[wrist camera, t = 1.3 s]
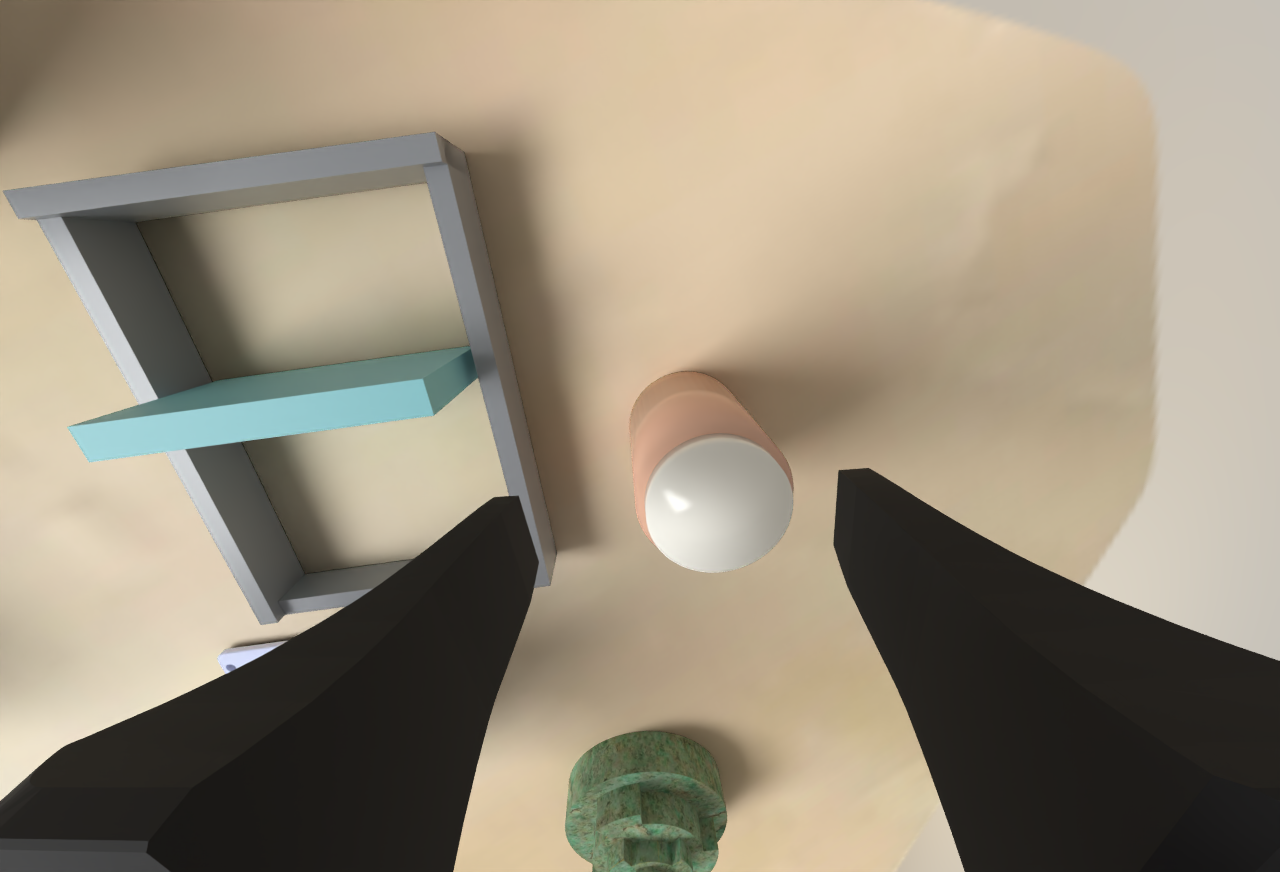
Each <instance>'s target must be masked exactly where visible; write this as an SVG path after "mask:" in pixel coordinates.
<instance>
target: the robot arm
mask: <svg viewBox="0 0 1280 872" xmlns="http://www.w3.org/2000/svg"><path fill="white" fill-rule="evenodd" d="M833 545H834V548H835V551H836V554H837V557H838V560H839V563H840V567H841V569H842V572H843V575H844V578H845V581H846V584H847V587H848V589H849V591H850V593H851V595H852V597H853V599H854V601H855V603H856V605H857V607H858V610H859V612H860V614H861V616H862V618H863V620H864V622H865V624H866V626H867V628H868V630H869V632H870V634H871V636H872V638H873V640H874V642H875V644H876V646H877V648H878V650H879V652H880V654H881V656H882V658H883V660H884V663H885V665H886V667H887V669H888V671H889V673H890V675H891V677H892V679H893V681H894V683H895V685H896V687H897V689H898V692H899V694H900V696H901V698H902V701H903V703H904V705H905V707H906V710H907V712H908V715H909V717H910V720H911V723H912V725H913V728H914V731H915V733H916V736H917V739H918V741H919V744H920V746H921V749H922V752H923V754H924V757H925V760H926V762H927V765H928V768H929V771H930V773H931V776H932V779H933V782H934V784H935V787H936V790H937V793H938V796H939V798H940V801H941V804H942V807H943V810H944V812H945V815H946V818H947V820H948V823H949V826H950V829H951V832H952V835H953V838H954V841H955V844H956V847H957V850H958V853H959V856H960V858H961V862H962V865H963V868H964V871H965V872H1280V661H1278V660H1275V659H1272V658H1269V657H1266V656H1264V655H1261V654H1258V653H1255V652H1252V651H1249V650H1246V649H1243V648H1240V647H1237V646H1234V645H1232V644H1229V643H1226V642H1223V641H1220V640H1218V639H1215V638H1212V637H1209V636H1207V635H1204V634H1201V633H1198V632H1196V631H1193V630H1190V629H1188V628H1185V627H1182V626H1180V625H1177V624H1174V623H1172V622H1169V621H1166V620H1164V619H1162V618H1159V617H1157V616H1154V615H1152V614H1149V613H1147V612H1144V611H1142V610H1139V609H1137V608H1134V607H1132V606H1129V605H1126V604H1124V603H1122V602H1119V601H1117V600H1114V599H1112V598H1110V597H1107V596H1105V595H1102V594H1100V593H1098V592H1096V591H1093V590H1091V589H1088V588H1086V587H1084V586H1082V585H1080V584H1077V583H1075V582H1073V581H1071V580H1069V579H1067V578H1065V577H1062V576H1060V575H1058V574H1056V573H1054V572H1052V571H1049V570H1047V569H1045V568H1043V567H1041V566H1039V565H1037V564H1034V563H1032V562H1030V561H1028V560H1026V559H1024V558H1022V557H1020V556H1018V555H1016V554H1015V553H1013V552H1011V551H1009V550H1007V549H1005V548H1003V547H1001V546H1000V545H998V544H996V543H994V542H992V541H990V540H988V539H987V538H985V537H983V536H981V535H979V534H977V533H976V532H974V531H972V530H970V529H969V528H967V527H965V526H963V525H962V524H960V523H958V522H956V521H955V520H953V519H951V518H950V517H948V516H946V515H945V514H943V513H941V512H940V511H938V510H936V509H935V508H933V507H931V506H930V505H928V504H926V503H925V502H923V501H922V500H920V499H918V498H917V497H915V496H914V495H912V494H910V493H909V492H907V491H906V490H904V489H902V488H901V487H899V486H898V485H896V484H894V483H893V482H891V481H890V480H888V479H886V478H885V477H883V476H882V475H880V474H878V473H876V472H875V471H873V470H871V469H869V468H863V469H850V470H839V472H838V486H837V501H836V515H835V529H834V544H833ZM538 565H539V560H538V557H537V554H536V550H535V547H534V544H533V541H532V537H531V534H530V531H529V528H528V524H527V521H526V518H525V515H524V511H523V508H522V505H521V501H520V498H519V495H518V496H505V497H494V498H492V499H491V500H489V501H488V502H486V503H485V504H484V505H482V506H481V507H480V508H478V509H477V510H476V511H474V512H473V513H472V514H471V515H469V516H468V517H467V518H465V519H464V520H463V521H462V522H460V523H459V524H458V525H457V526H456V527H454V528H453V529H452V530H450V531H449V532H448V533H447V534H445V535H444V536H443V537H442V538H440V539H439V540H438V541H437V542H435V543H434V544H433V545H432V546H430V547H429V548H428V549H427V550H425V551H424V552H423V553H421V554H420V555H419V556H417V557H416V558H415V559H413V560H412V561H411V562H409V563H408V564H407V565H405V566H404V567H402V568H401V569H400V570H398V571H397V572H396V573H394V574H393V575H392V576H390V577H389V578H388V579H386V580H385V581H384V582H382V583H381V584H379V585H378V586H376V587H375V588H374V589H372V590H371V591H369V592H368V593H366V594H365V595H363V596H362V597H360V598H359V599H357V600H356V601H354V602H352V603H351V604H349V605H348V606H346V607H345V608H343V609H341V610H340V611H338V612H337V613H335V614H334V615H332V616H330V617H329V618H327V619H325V620H324V621H322V622H320V623H319V624H317V625H315V626H314V627H312V628H310V629H308V630H306V631H305V632H303V633H301V634H299V635H298V636H296V637H294V638H292V639H290V640H288V641H281V642H274V643H266V644H259V645H252V646H244V647H237V648H229V649H225V650H224V651H223V652H222V653H221V654H220V655H219V656H218V658H217V659H218V662H219V664H220V665H221V667H222V669H223V670H224V672H225V673H226V674H225V675H223V676H221V677H219V678H217V679H215V680H213V681H210V682H208V683H206V684H204V685H202V686H200V687H198V688H196V689H194V690H192V691H190V692H188V693H186V694H183V695H181V696H179V697H177V698H175V699H173V700H170V701H168V702H166V703H164V704H162V705H159V706H157V707H155V708H152V709H150V710H148V711H145V712H143V713H141V714H138V715H136V716H134V717H132V718H129V719H127V720H125V721H122V722H120V723H118V724H115V725H113V726H111V727H108V728H106V729H104V730H102V731H99V732H97V733H95V734H92V735H90V736H88V737H85V738H83V739H80V740H78V741H75V742H73V743H71V744H68V745H66V746H64V747H63V748H61V749H60V750H58V751H57V752H56V753H54V754H53V755H52V756H51V757H50V758H48V759H47V760H46V761H45V762H44V763H43V764H41V765H40V766H39V767H38V768H37V769H36V770H35V771H33V772H32V773H31V774H30V775H29V776H28V777H27V778H26V779H25V780H23V781H22V782H21V783H20V784H19V785H18V786H17V787H16V788H14V789H13V790H12V791H11V792H10V793H9V794H8V795H7V796H6V797H4V798H3V799H2V800H1V801H0V872H453V870H454V865H455V860H456V856H457V851H458V846H459V841H460V837H461V832H462V827H463V822H464V818H465V814H466V810H467V806H468V801H469V797H470V793H471V789H472V784H473V780H474V776H475V772H476V767H477V764H478V760H479V756H480V752H481V748H482V744H483V741H484V737H485V733H486V729H487V725H488V721H489V718H490V715H491V711H492V708H493V705H494V702H495V699H496V696H497V693H498V690H499V688H500V685H501V682H502V680H503V677H504V674H505V671H506V669H507V666H508V663H509V660H510V658H511V655H512V652H513V650H514V647H515V644H516V641H517V639H518V636H519V633H520V630H521V628H522V625H523V622H524V619H525V616H526V614H527V611H528V608H529V605H530V602H531V598H532V594H533V589H534V585H535V580H536V575H537V570H538Z"/></svg>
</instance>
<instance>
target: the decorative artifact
mask: <svg viewBox="0 0 1280 872" xmlns="http://www.w3.org/2000/svg"><path fill="white" fill-rule="evenodd" d="M726 823H727V812H726V807H725V802H724V797H723V792H722V787H721V782H720V777H719V772H718V768H717V765H716V762H715V760H714V759H713V757H712V756H711V755H710V753H709V752H708V751H707V750H706V749H705V748H703V747H702V746H701V745H699V744H698V743H696V742H694V741H692V740H690V739H688V738H686V737H683V736H680V735H676V734H672V733H667V732H658V731H642V732H633V733H627V734H623V735H619V736H616V737H613V738H610V739H608V740H605V741H603V742H601V743H599V744H598V745H596V746H594V747H593V748H591V749H590V750H589V751H587V752H586V753H585V754H584V755H583V756H582V757H581V758H580V759H579V760H578V762H577V763H576V764H575V766H574V768H573V770H572V772H571V775H570V779H569V789H568V800H567V811H566V822H565V832H566V836H567V839H568V842H569V843H570V845H571V847H572V848H573V849H574V850H575V852H576V853H577V854H579V855H580V856H581V857H582V858H584V859H585V860H586V861H588V862H590V863H592V864H593V871H592V872H711V871H712V869H713V868H714V866H715V864H716V862H717V859H718V844H717V842H718V841H719V840H720V838H721V836H722V835H723V833H724V830H725V827H726Z"/></svg>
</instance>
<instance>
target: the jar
mask: <svg viewBox="0 0 1280 872" xmlns="http://www.w3.org/2000/svg"><path fill="white" fill-rule="evenodd" d="M629 430H630V443H631V456H632V468H633V481H634V494H635V506H636V513H637V517H638V520H639V523H640V525H641V528H642V529H643V531H644V533H645V535H646V536H647V537H648V538H649V540H650V541H651V542H652V543H653V544H654V545H655V546H656V547H657V548H658V549H659V550H660V551H661V552H662V553H663V554H664V555H665V556H666V557H667V558H669V559H670V560H671V561H673V562H675V563H676V564H678V565H680V566H682V567H685V568H687V569H691V570H695V571H699V572H709V573H717V572H726V571H732V570H736V569H739V568H742V567H744V566H747V565H749V564H751V563H753V562H755V561H757V560H759V559H760V558H761V557H763V556H764V555H766V554H767V553H768V552H769V551H770V550H771V549H772V548H773V547H774V546H775V545H776V544H777V543H778V542H779V540H780V539H781V538H782V536H783V535H784V533H785V531H786V529H787V527H788V525H789V522H790V519H791V515H792V511H793V489H794V488H793V478H792V473H791V470H790V467H789V465H788V462H787V460H786V459H785V457H784V455H783V453H782V452H781V451H780V450H779V449H778V447H777V446H776V445H775V444H774V443H773V442H772V440H771V439H770V438H769V437H768V436H767V434H766V433H765V432H764V431H763V430H762V429H761V427H760V426H759V425H758V424H757V423H756V422H755V420H754V419H753V418H752V417H751V416H750V415H749V413H748V412H747V411H746V410H745V409H744V408H743V406H742V405H741V404H740V403H739V402H738V400H737V399H736V398H735V397H734V396H733V395H732V393H731V392H730V391H729V390H728V389H727V388H726V387H725V386H724V385H723V384H722V383H721V382H719V381H718V380H716V379H715V378H713V377H711V376H709V375H706V374H703V373H698V372H690V371H685V372H676V373H672V374H669V375H666V376H663V377H661V378H659V379H657V380H656V381H654V382H653V383H651V384H650V385H649V386H648V387H647V388H646V389H645V390H644V391H643V392H642V393H641V394H640V396H639V397H638V399H637V400H636V402H635V404H634V406H633V409H632V412H631V416H630V423H629Z"/></svg>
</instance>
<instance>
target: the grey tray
mask: <svg viewBox="0 0 1280 872" xmlns="http://www.w3.org/2000/svg"><path fill="white" fill-rule="evenodd" d="M420 183H427V184H428V188H429V192H430V195H431V199H432V203H433V207H434V211H435V214H436V218H437V222H438V226H439V230H440V233H441V237H442V241H443V245H444V249H445V253H446V256H447V260H448V264H449V268H450V272H451V275H452V279H453V283H454V287H455V291H456V295H457V298H458V302H459V306H460V310H461V314H462V317H463V321H464V325H465V329H466V333H467V336H468V340H469V344H470V348H471V352H472V356H473V359H474V363H475V367H476V371H477V375H478V378H479V382H480V386H481V390H482V394H483V397H484V401H485V405H486V409H487V413H488V417H489V420H490V424H491V428H492V432H493V436H494V439H495V443H496V447H497V451H498V455H499V459H500V462H501V466H502V470H503V474H504V478H505V481H506V485H507V489H508V493H509V496H518V495H519V498H520V501H521V505H522V508H523V511H524V515H525V518H526V521H527V524H528V528H529V531H530V534H531V537H532V541H533V544H534V547H535V550H536V554H537V557H538V560H539V565H538V570H537V575H536V580H535V585H534V588H536V587H543V586H550V585H551V580H552V575H553V570H554V565H555V560H556V555H557V552H556V547H555V543H554V539H553V534H552V530H551V526H550V521H549V517H548V513H547V508H546V504H545V500H544V495H543V491H542V487H541V482H540V478H539V474H538V469H537V465H536V461H535V456H534V452H533V448H532V443H531V439H530V435H529V430H528V426H527V422H526V417H525V413H524V409H523V404H522V400H521V396H520V391H519V387H518V383H517V378H516V374H515V370H514V365H513V361H512V357H511V352H510V348H509V344H508V339H507V335H506V331H505V326H504V322H503V318H502V313H501V309H500V305H499V300H498V296H497V292H496V287H495V283H494V279H493V274H492V270H491V266H490V261H489V257H488V253H487V248H486V244H485V240H484V235H483V231H482V227H481V222H480V218H479V214H478V209H477V205H476V201H475V197H474V192H473V188H472V184H471V179H470V175H469V171H468V166H467V162H466V158H465V153H464V152H463V151H461V150H460V149H459V148H457V147H456V146H454V145H453V144H451V143H450V142H449V141H447V140H446V139H444V138H443V137H441V136H440V135H438V134H437V133H436V132H431V133H423V134H416V135H408V136H401V137H394V138H386V139H379V140H372V141H364V142H357V143H350V144H342V145H335V146H328V147H320V148H313V149H306V150H298V151H291V152H284V153H276V154H269V155H262V156H254V157H247V158H240V159H232V160H225V161H218V162H210V163H203V164H196V165H188V166H181V167H174V168H166V169H159V170H152V171H144V172H137V173H129V174H122V175H115V176H107V177H100V178H93V179H85V180H78V181H71V182H63V183H56V184H49V185H41V186H34V187H27V188H19V189H12V190H5V191H3V193H4V194H5V196H6V198H7V200H8V201H9V203H10V205H11V207H12V208H13V210H14V212H15V214H16V216H17V217H18V219H28V220H37V221H38V223H39V225H40V227H41V228H42V230H43V232H44V234H45V236H46V238H47V239H48V241H49V243H50V245H51V247H52V248H53V250H54V252H55V254H56V256H57V257H58V259H59V261H60V263H61V265H62V266H63V268H64V270H65V272H66V274H67V276H68V277H69V279H70V281H71V283H72V285H73V286H74V288H75V290H76V292H77V294H78V295H79V297H80V299H81V301H82V303H83V304H84V306H85V308H86V310H87V312H88V314H89V315H90V317H91V319H92V321H93V323H94V324H95V326H96V328H97V330H98V332H99V333H100V335H101V337H102V339H103V341H104V342H105V344H106V346H107V348H108V350H109V351H110V353H111V355H112V357H113V359H114V361H115V362H116V364H117V366H118V368H119V370H120V371H121V373H122V375H123V377H124V379H125V380H126V382H127V384H128V386H129V388H130V389H131V391H132V393H133V395H134V397H135V399H136V400H137V402H138V404H139V405H140V404H143V403H147V402H150V401H153V400H156V399H159V398H163V397H166V396H169V395H172V394H176V393H179V392H182V391H185V390H189V389H192V388H195V387H198V386H202V385H205V384H208V383H211V382H212V380H211V378H210V376H209V374H208V372H207V370H206V368H205V366H204V364H203V362H202V360H201V358H200V356H199V353H198V351H197V349H196V347H195V345H194V343H193V341H192V339H191V337H190V335H189V333H188V331H187V329H186V326H185V324H184V322H183V320H182V318H181V316H180V314H179V312H178V310H177V308H176V306H175V304H174V302H173V300H172V297H171V295H170V293H169V291H168V289H167V287H166V285H165V283H164V281H163V279H162V277H161V275H160V273H159V270H158V268H157V266H156V264H155V262H154V260H153V258H152V256H151V254H150V252H149V250H148V248H147V246H146V244H145V241H144V239H143V237H142V235H141V233H140V231H139V229H138V227H137V225H136V223H135V222H141V221H148V220H156V219H163V218H170V217H178V216H185V215H192V214H200V213H207V212H215V211H222V210H229V209H237V208H244V207H251V206H259V205H266V204H273V203H281V202H288V201H295V200H303V199H310V198H317V197H325V196H332V195H339V194H347V193H354V192H361V191H369V190H376V189H383V188H391V187H398V186H405V185H413V184H420ZM165 453H166V455H167V456H168V458H169V460H170V462H171V464H172V465H173V467H174V469H175V471H176V473H177V474H178V476H179V478H180V480H181V482H182V484H183V485H184V487H185V489H186V491H187V493H188V494H189V496H190V498H191V500H192V502H193V503H194V505H195V507H196V509H197V511H198V512H199V514H200V516H201V518H202V520H203V522H204V523H205V525H206V527H207V529H208V531H209V532H210V534H211V536H212V538H213V540H214V541H215V543H216V545H217V547H218V549H219V550H220V552H221V554H222V556H223V558H224V560H225V561H226V563H227V565H228V567H229V569H230V570H231V572H232V574H233V576H234V578H235V579H236V581H237V583H238V585H239V587H240V588H241V590H242V592H243V594H244V596H245V597H246V599H247V601H248V603H249V605H250V607H251V608H252V610H253V612H254V614H255V616H256V617H257V619H258V621H259V623H260V625H263V624H271V623H278V622H279V621H280V620H281V618H282V617H283V616H284V615H287V614H294V613H302V612H309V611H316V610H324V609H331V608H339V607H346V606H348V605H349V604H351V603H352V602H354V601H356V600H357V599H359V598H360V597H362V596H363V595H365V594H366V593H368V592H369V591H371V590H372V589H374V588H375V587H376V586H378V585H379V584H381V583H382V582H384V581H385V580H386V579H388V578H389V577H390V576H392V575H393V574H394V573H396V572H397V571H398V570H400V569H401V568H402V567H404V566H405V565H407V564H408V563H409V562H411V561H412V560H413V559H412V560H405V561H398V562H390V563H383V564H375V565H368V566H361V567H353V568H346V569H339V570H331V571H324V572H317V573H309V574H305V573H304V571H303V569H302V567H301V565H300V563H299V561H298V559H297V557H296V555H295V553H294V550H293V548H292V546H291V544H290V542H289V540H288V538H287V536H286V534H285V532H284V530H283V528H282V526H281V524H280V521H279V519H278V517H277V515H276V513H275V511H274V509H273V507H272V505H271V503H270V501H269V499H268V497H267V494H266V492H265V490H264V488H263V486H262V484H261V482H260V480H259V478H258V476H257V474H256V472H255V470H254V468H253V465H252V463H251V461H250V459H249V457H248V455H247V453H246V451H245V449H244V447H243V445H242V443H241V442H235V443H227V444H220V445H213V446H205V447H198V448H191V449H183V450H176V451H169V452H165Z"/></svg>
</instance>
